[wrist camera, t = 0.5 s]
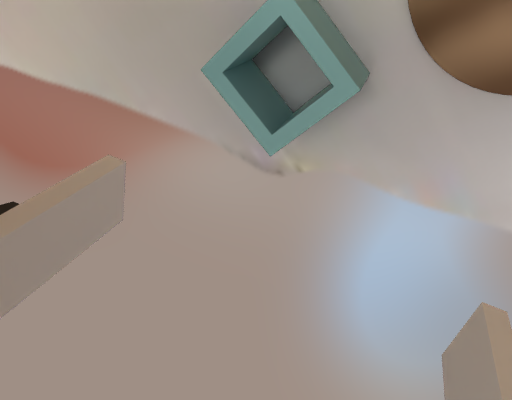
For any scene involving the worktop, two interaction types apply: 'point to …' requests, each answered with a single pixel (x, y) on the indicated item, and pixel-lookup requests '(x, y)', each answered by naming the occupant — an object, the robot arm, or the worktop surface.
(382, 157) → the worktop surface
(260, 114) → the collar
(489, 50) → the post stand
